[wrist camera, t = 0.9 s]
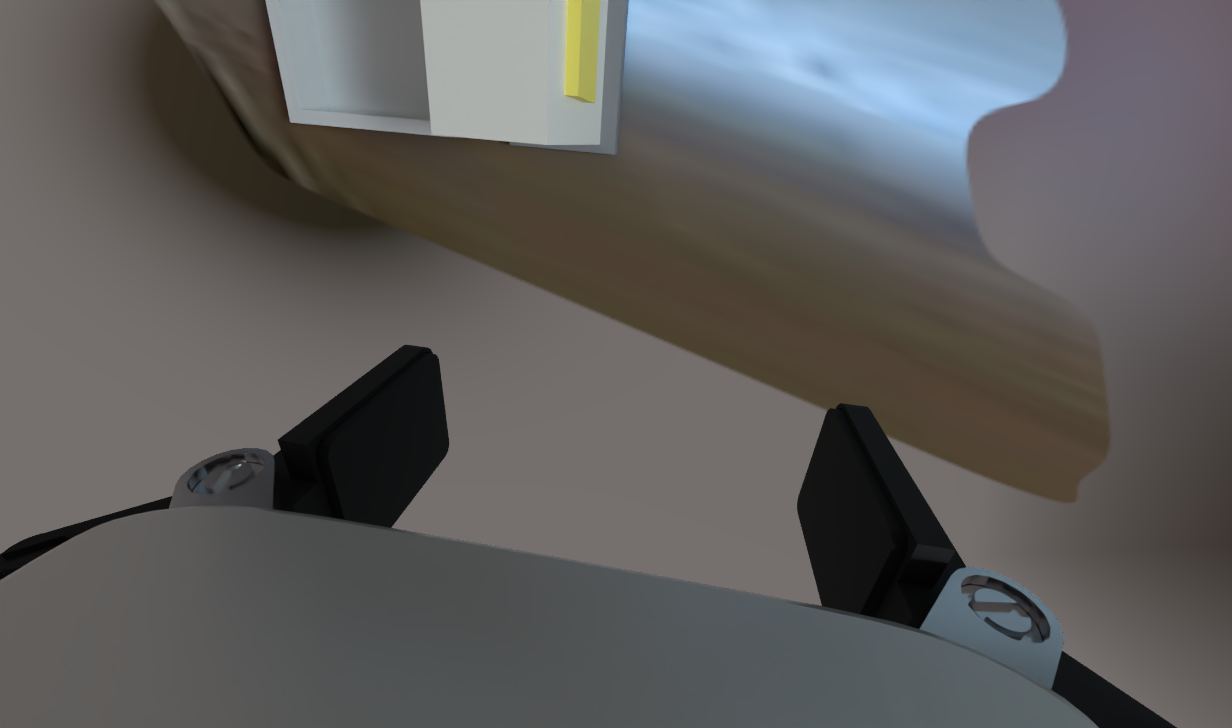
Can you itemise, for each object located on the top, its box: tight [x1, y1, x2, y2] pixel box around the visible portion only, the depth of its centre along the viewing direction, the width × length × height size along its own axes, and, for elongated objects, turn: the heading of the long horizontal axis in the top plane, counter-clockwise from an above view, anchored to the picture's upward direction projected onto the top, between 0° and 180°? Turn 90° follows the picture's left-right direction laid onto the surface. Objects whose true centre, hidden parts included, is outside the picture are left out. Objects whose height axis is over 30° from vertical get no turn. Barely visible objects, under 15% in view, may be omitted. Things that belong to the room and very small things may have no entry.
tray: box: [265, 0, 454, 137], centre depth 28 cm, size 11×11×4 cm
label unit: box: [420, 0, 629, 155], centre depth 23 cm, size 11×7×13 cm, turn 175°
